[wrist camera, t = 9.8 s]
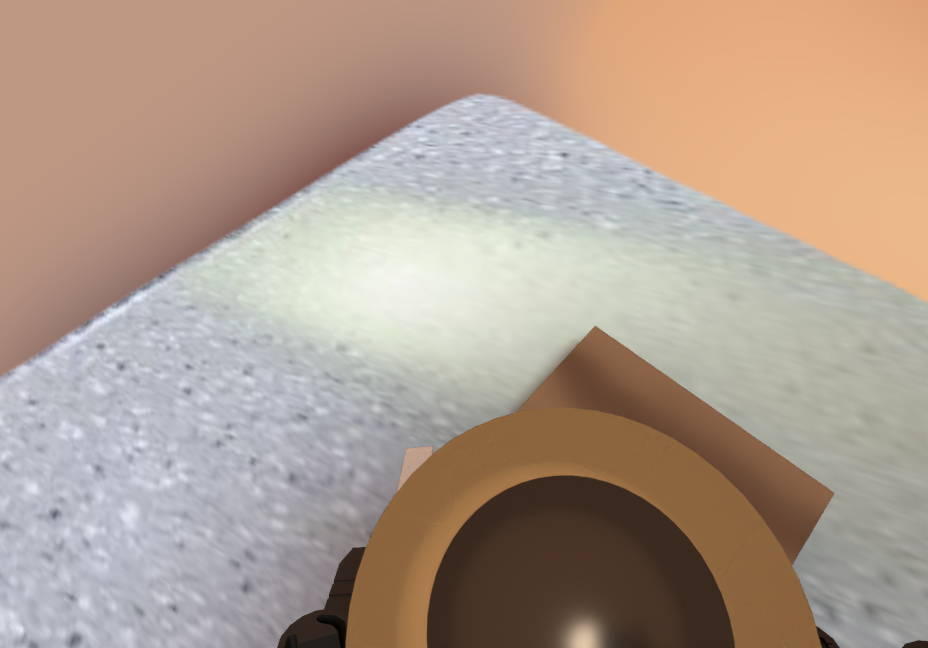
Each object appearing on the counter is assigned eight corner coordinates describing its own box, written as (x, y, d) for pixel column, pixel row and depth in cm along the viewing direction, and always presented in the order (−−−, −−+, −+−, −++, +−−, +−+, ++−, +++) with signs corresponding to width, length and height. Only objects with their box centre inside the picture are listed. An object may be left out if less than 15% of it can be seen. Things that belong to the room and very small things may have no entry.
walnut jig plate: (588, 346, 38) (595, 325, 35) (806, 503, 32) (834, 493, 29) (382, 575, 31) (372, 570, 29) (610, 827, 25) (623, 850, 23)
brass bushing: (516, 518, 20) (535, 335, 7) (634, 621, 18) (918, 605, 6) (423, 635, 18) (248, 649, 6) (541, 763, 16) (656, 1186, 4)
